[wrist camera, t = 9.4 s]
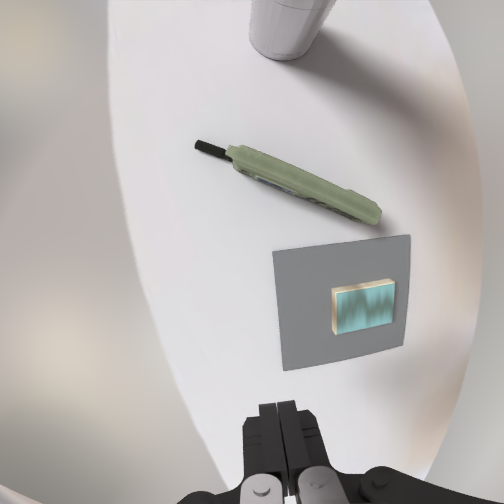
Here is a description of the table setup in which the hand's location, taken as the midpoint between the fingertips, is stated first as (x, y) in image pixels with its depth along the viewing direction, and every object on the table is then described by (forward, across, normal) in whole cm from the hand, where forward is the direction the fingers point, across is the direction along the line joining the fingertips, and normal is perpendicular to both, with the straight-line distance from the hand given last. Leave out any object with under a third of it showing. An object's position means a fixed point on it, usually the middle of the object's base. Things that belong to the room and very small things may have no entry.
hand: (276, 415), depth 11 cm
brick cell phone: (+31, -5, -9) cm, 33 cm away
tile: (+28, -11, +10) cm, 32 cm away
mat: (+30, -14, +10) cm, 35 cm away
